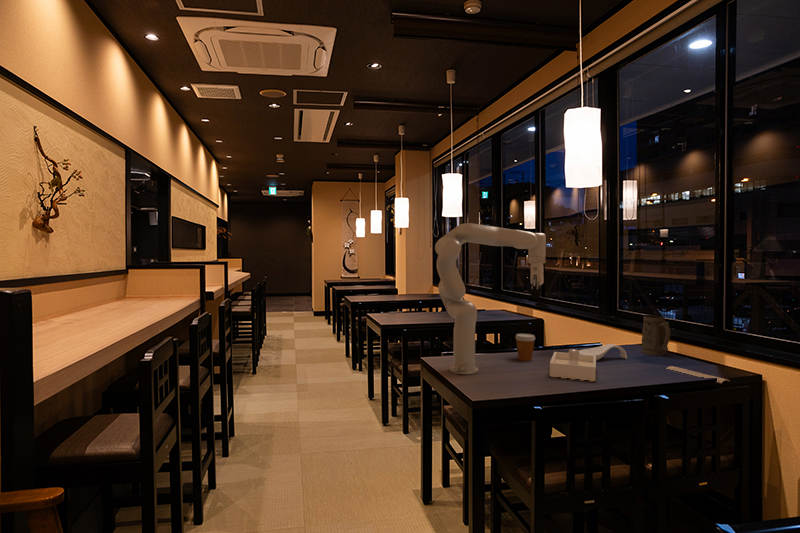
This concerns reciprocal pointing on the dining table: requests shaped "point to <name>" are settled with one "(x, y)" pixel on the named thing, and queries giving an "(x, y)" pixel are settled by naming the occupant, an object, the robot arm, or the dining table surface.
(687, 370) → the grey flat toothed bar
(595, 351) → the spoon rest
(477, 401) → the dining table surface
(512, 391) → the dining table surface
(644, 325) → the beer stein
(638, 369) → the dining table surface
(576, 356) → the small plastic bottle
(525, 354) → the disposable coffee cup
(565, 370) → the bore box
